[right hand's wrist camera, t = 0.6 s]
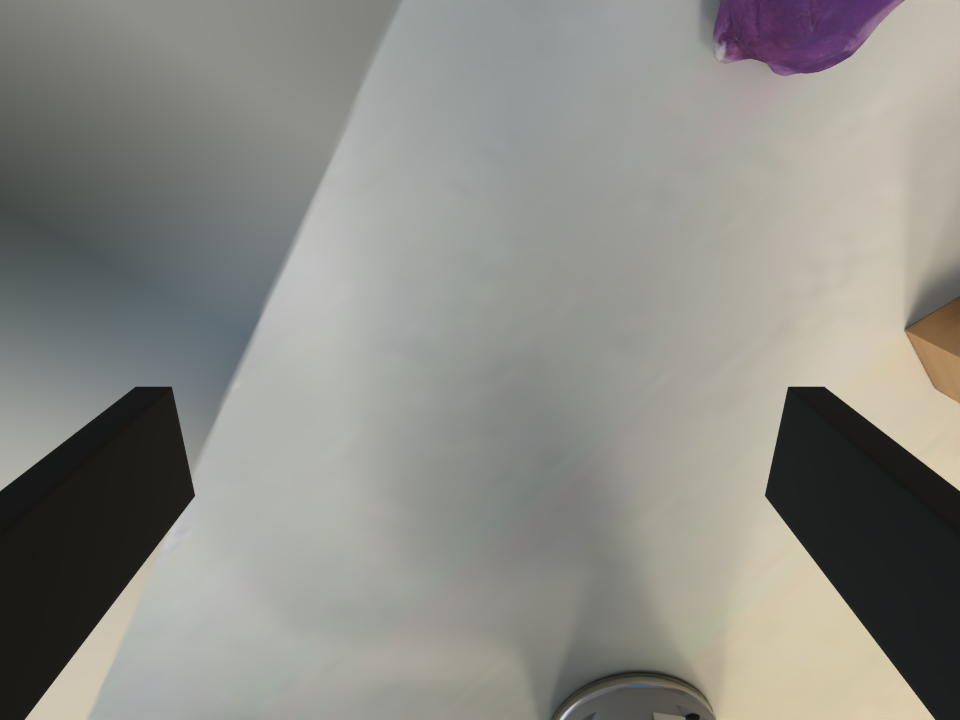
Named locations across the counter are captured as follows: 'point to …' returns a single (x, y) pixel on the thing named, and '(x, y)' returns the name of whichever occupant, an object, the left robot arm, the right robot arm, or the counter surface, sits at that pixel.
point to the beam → (940, 347)
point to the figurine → (795, 31)
